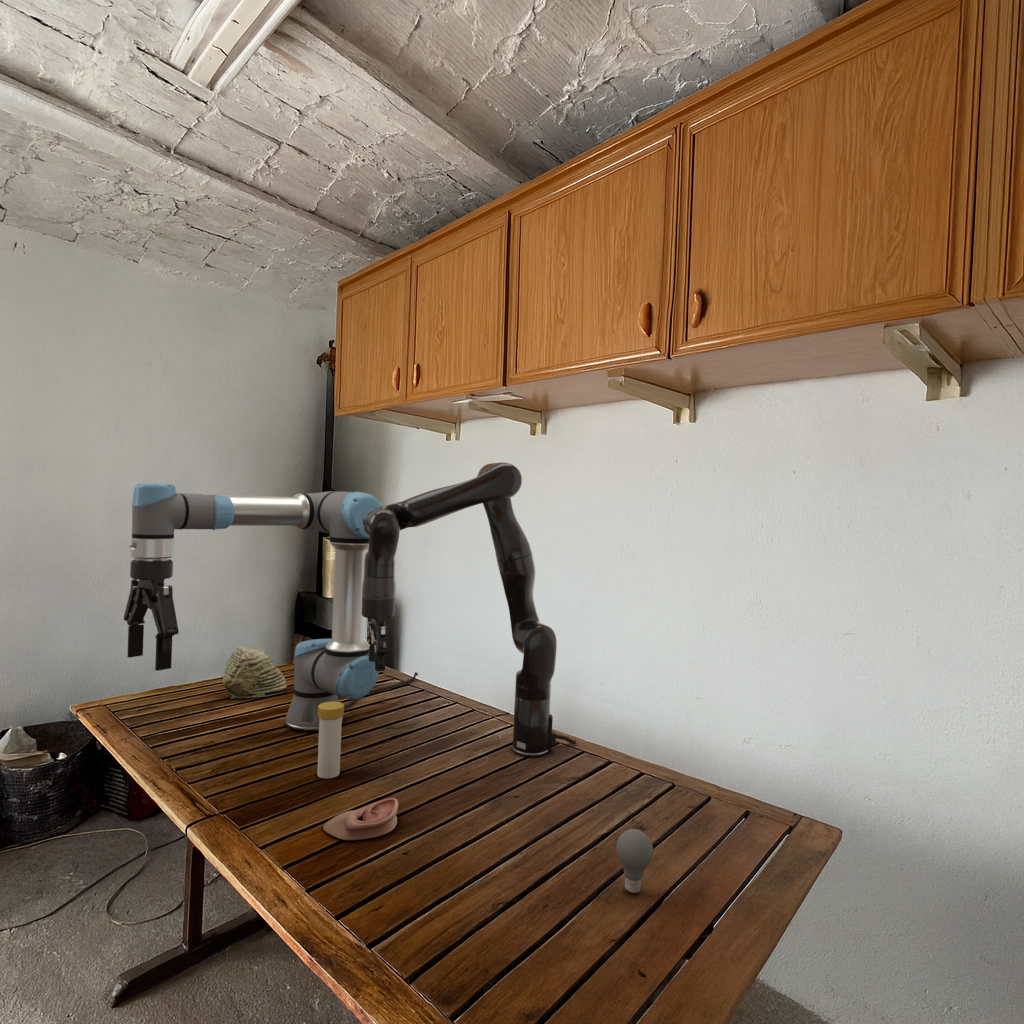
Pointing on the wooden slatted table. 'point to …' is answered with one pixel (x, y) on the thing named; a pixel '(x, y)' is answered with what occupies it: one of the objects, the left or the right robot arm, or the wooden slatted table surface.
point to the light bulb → (634, 857)
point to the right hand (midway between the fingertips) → (376, 665)
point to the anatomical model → (364, 821)
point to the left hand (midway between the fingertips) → (148, 662)
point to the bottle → (329, 747)
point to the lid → (330, 710)
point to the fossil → (252, 674)
